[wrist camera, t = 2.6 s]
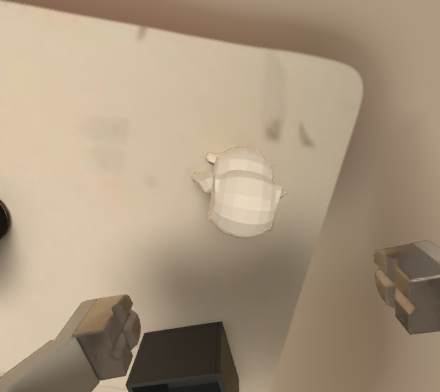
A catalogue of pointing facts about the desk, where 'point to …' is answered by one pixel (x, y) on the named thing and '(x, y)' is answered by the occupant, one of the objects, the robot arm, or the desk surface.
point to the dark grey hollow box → (184, 361)
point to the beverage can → (3, 221)
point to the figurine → (240, 192)
